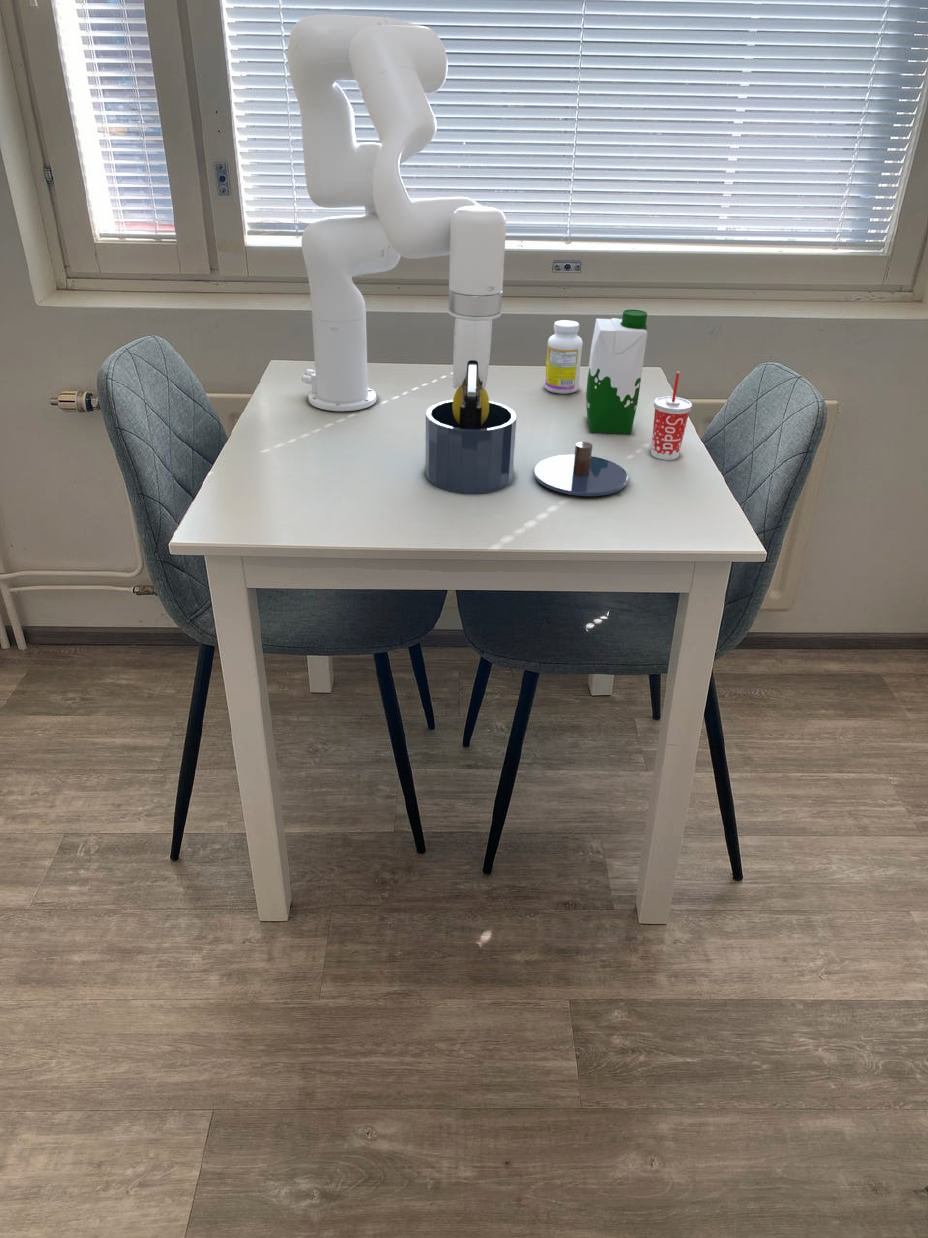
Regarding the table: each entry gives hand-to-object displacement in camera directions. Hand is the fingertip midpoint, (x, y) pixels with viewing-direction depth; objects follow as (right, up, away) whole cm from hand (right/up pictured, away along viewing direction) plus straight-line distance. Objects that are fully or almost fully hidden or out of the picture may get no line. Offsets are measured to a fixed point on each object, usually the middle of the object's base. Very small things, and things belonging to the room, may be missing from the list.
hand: (470, 424), depth 136 cm
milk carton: (+25, +5, +24) cm, 35 cm away
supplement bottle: (+18, +16, +41) cm, 47 cm away
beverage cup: (+33, -2, +14) cm, 36 cm away
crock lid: (+17, -7, +4) cm, 19 cm away
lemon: (0, -1, +1) cm, 1 cm away
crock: (0, -7, +4) cm, 8 cm away
